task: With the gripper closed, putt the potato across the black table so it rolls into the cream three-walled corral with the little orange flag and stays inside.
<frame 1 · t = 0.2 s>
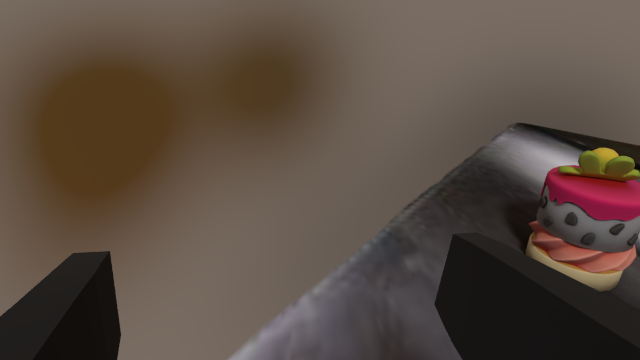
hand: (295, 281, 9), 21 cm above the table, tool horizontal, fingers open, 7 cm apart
cake: (569, 266, 50), on the table
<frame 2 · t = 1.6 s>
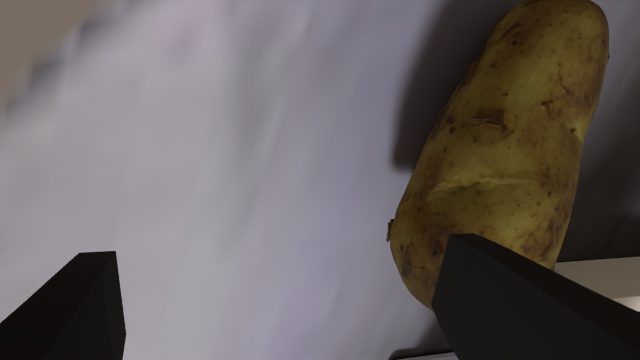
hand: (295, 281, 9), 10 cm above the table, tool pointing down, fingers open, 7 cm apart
potato: (453, 129, 21), on the table
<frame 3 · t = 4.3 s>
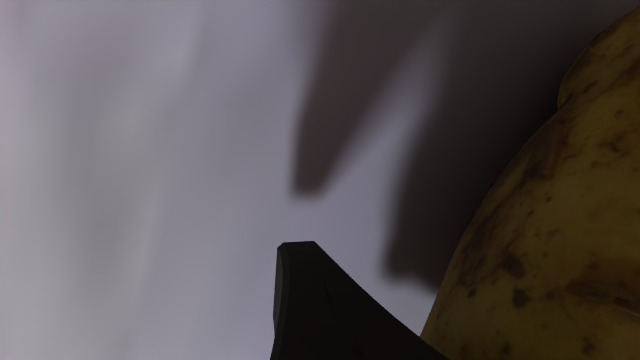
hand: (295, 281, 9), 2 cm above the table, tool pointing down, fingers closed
potato: (487, 217, 12), on the table, touching gripper
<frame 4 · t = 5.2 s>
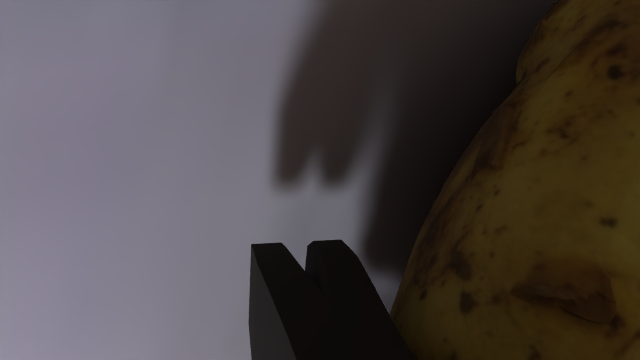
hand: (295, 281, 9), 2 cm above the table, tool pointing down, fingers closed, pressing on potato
potato: (455, 201, 12), on the table, touching gripper
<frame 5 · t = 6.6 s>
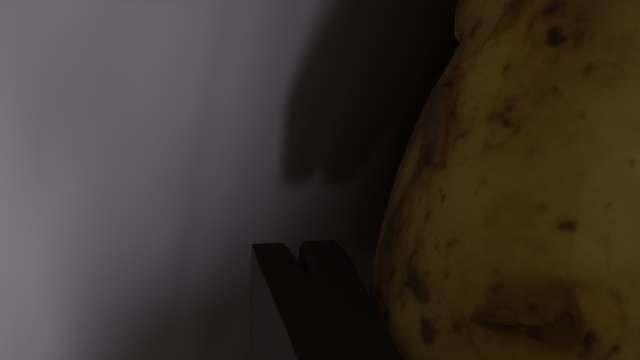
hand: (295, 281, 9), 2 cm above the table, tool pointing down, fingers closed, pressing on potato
potato: (422, 170, 11), on the table, touching gripper
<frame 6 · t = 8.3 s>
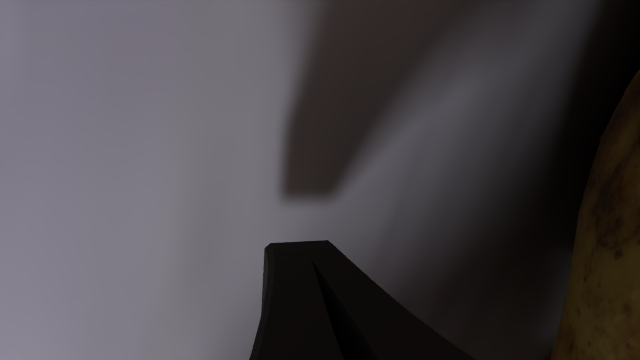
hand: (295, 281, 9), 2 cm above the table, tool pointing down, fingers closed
potato: (596, 162, 12), on the table, touching corral
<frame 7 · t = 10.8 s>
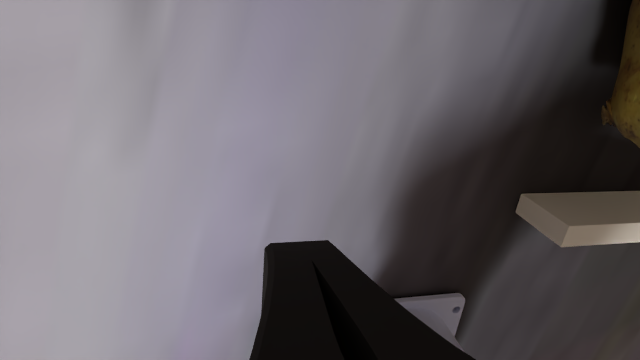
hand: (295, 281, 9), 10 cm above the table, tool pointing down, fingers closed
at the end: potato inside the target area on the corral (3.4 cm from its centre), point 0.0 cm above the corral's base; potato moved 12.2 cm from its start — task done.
